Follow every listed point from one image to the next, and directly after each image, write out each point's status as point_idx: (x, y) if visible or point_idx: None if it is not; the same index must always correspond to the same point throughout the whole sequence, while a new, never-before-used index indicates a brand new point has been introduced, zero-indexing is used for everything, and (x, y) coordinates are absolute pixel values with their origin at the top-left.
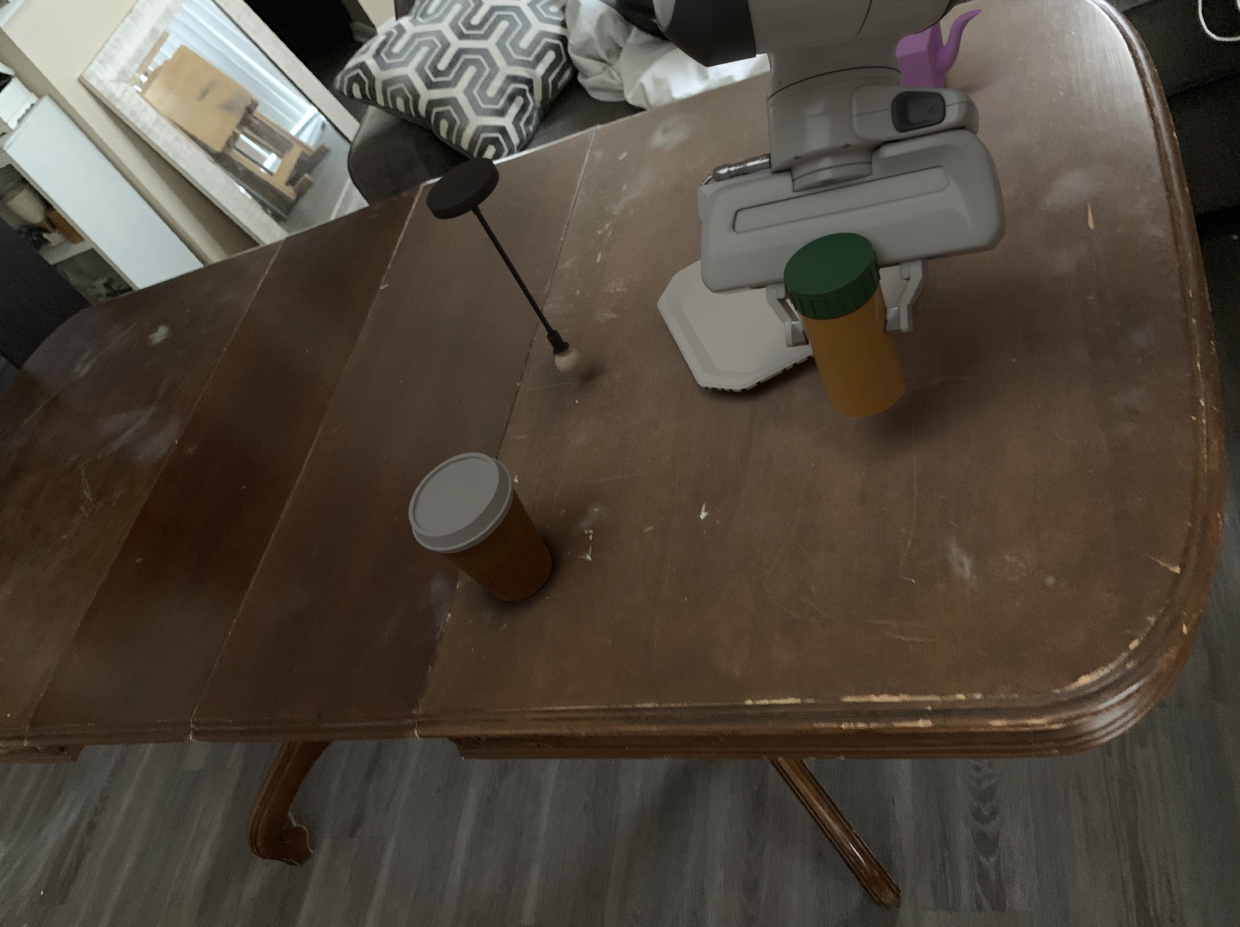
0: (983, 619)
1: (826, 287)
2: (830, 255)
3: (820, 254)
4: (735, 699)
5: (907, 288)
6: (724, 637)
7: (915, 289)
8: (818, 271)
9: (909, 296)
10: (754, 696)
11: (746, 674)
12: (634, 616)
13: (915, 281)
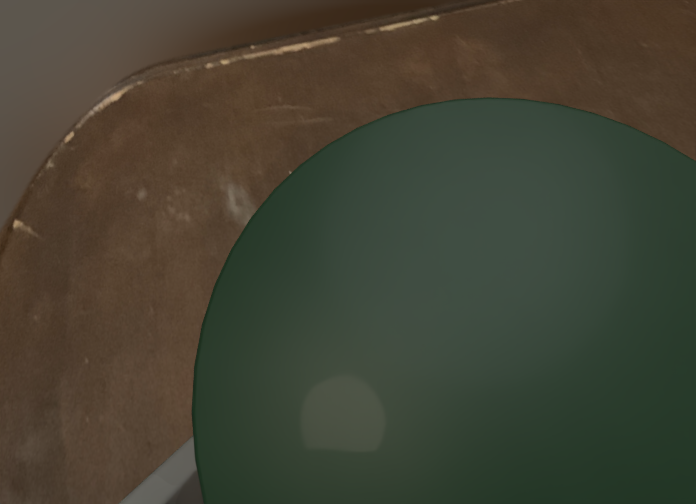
0: (208, 139)
1: (436, 130)
2: (530, 454)
3: (625, 480)
4: (449, 17)
5: (182, 472)
6: (495, 73)
7: (155, 471)
8: (552, 279)
9: (187, 450)
10: (430, 23)
11: (449, 41)
12: (632, 78)
13: (142, 499)
